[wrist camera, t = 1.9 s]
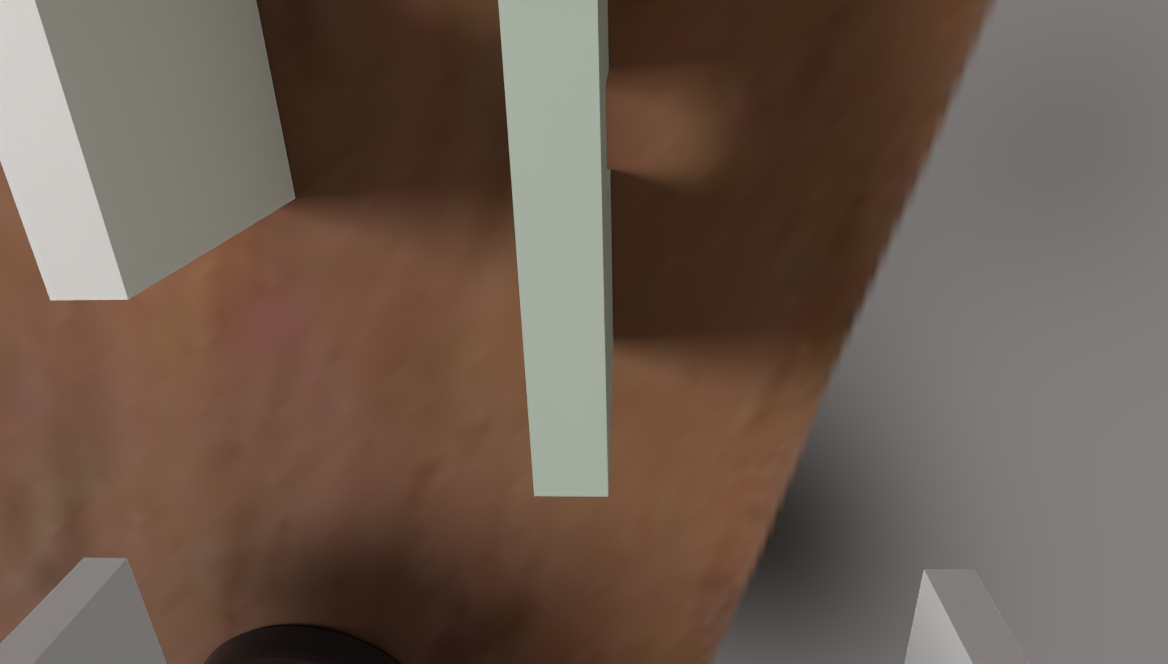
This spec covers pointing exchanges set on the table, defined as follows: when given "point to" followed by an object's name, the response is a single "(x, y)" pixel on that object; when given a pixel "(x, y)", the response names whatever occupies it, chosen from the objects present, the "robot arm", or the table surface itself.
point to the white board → (136, 135)
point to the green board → (562, 233)
